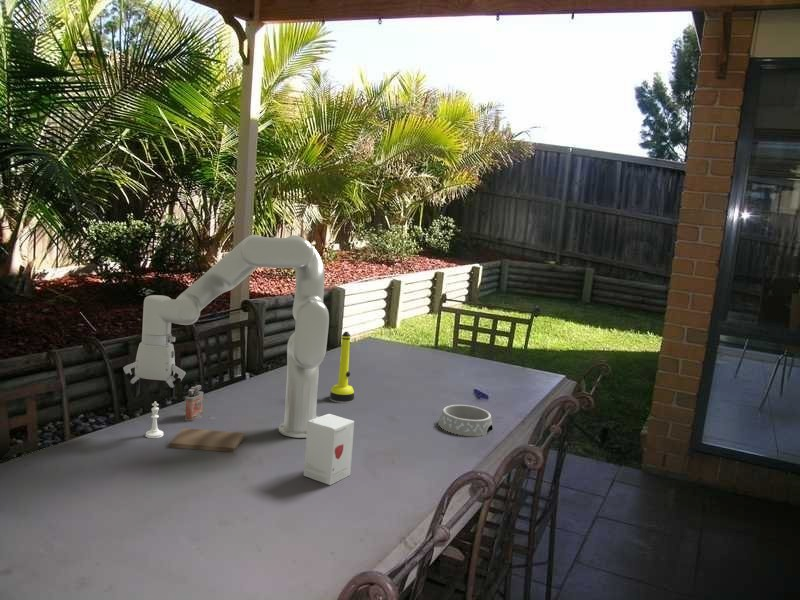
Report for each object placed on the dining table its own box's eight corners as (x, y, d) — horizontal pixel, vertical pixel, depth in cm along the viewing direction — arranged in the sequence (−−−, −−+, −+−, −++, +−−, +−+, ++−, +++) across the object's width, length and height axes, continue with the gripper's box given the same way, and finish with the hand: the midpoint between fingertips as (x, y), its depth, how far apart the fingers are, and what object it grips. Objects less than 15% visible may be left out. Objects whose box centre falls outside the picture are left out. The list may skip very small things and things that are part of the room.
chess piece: (148, 431, 188) (148, 398, 187) (165, 432, 188) (166, 399, 187) (143, 437, 183) (143, 404, 182) (160, 438, 184) (161, 404, 182)
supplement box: (330, 486, 162) (333, 429, 159) (302, 476, 166) (306, 420, 164) (351, 475, 169) (355, 420, 167) (324, 465, 174) (328, 412, 172)
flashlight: (329, 331, 228) (352, 335, 225) (341, 328, 236) (363, 331, 233) (325, 399, 232) (347, 404, 228) (336, 393, 240) (358, 398, 237)
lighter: (192, 422, 198) (193, 391, 197) (182, 420, 199) (183, 389, 198) (205, 414, 206) (206, 384, 205) (195, 413, 207) (196, 383, 206)
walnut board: (244, 436, 190) (244, 432, 190) (234, 452, 178) (234, 447, 178) (183, 432, 190) (183, 428, 190) (169, 447, 178) (169, 443, 178)
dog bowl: (498, 425, 220) (499, 410, 219) (481, 441, 203) (482, 424, 202) (451, 415, 227) (452, 400, 226) (431, 429, 210) (432, 413, 209)
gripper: (191, 339, 186) (187, 397, 188) (130, 333, 185) (128, 391, 188) (182, 345, 178) (179, 404, 180) (119, 338, 178) (117, 398, 180)
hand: (153, 397), depth 184 cm, fingers open, 9 cm apart
